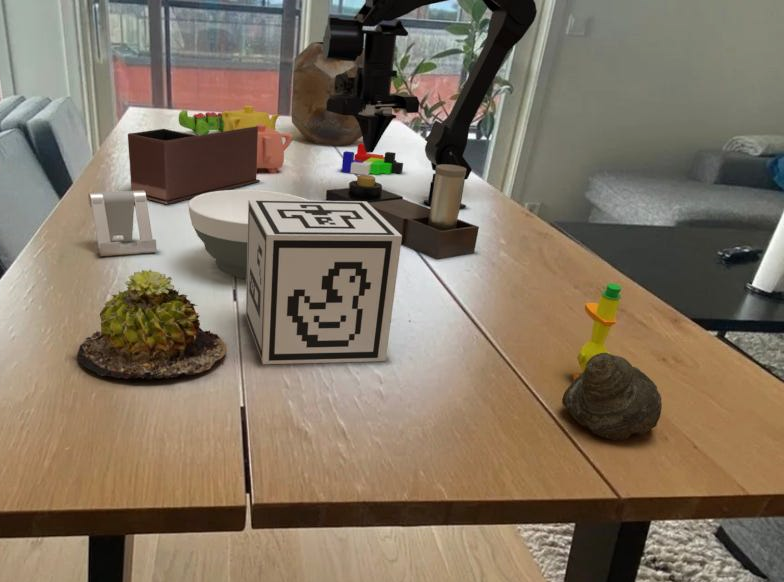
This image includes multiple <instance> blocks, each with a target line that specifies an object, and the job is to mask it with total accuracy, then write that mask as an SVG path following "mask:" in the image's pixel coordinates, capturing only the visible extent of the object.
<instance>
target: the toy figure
mask: <svg viewBox="0 0 784 582" xmlns="http://www.w3.org/2000/svg"><path fill="white" fill-rule="evenodd" d="M621 290H622V286H620V285H619V284H617V283H612V282H610V283H607V284H606V289H605V290H602V291H601V293H600V294H601V295H600V297H599V300H598V303H596V302H585V303H584V304H585V305H584V311H585V313H586V314H587V316H589V317H590V318H591V320H593V325H592V331H591V338H590V340H589V341H587V342H586V343H585V344H583V345H582V346H581V348H580V352H579V353H578V354H577V356H576V358H577V361H578V364H579V367H580V370H581V374H582V373H583V372H584V370H585V366H586V363H587V362H588V360H589V359H590V358H591V357H593V356H594V355H596V354H599V353H609V354H611V353H610V351H608V350H607V347H606V344H605V341H606V340H607V337H608V335H609V332H610V330H611V328H612V326H614V325H616V322H617V311H618V308H619V304H620V302H621V300H620V299H621V298H622V295H621V294H620V292H621ZM581 374H579V373H576V374H573V381H574V380H575V379H576V378H577V377H578V376H579V375H581Z"/></svg>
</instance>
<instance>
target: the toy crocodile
mask: <svg viewBox="0 0 784 582" xmlns="http://www.w3.org/2000/svg"><path fill="white" fill-rule="evenodd" d="M178 124H179V125H180V126H181V127H183V128H186V129H188V130H191V131H193V132H194V133H196V134H198V135H204V134H210V131H217V132H223V131H224V126H225V124H224V122H223V119H222V112H218V113H216V112H214V111H211V112H209V111H208V112H205V114H204V113H202V112H198V113H195V114H193V116H188V110H187V109H182V110H181V111H180V112H179V114H178Z"/></svg>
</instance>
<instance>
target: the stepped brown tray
mask: <svg viewBox="0 0 784 582" xmlns="http://www.w3.org/2000/svg"><path fill="white" fill-rule="evenodd" d="M369 204H370V205H371V206H372V207H373V208H374V209H375V210H376V211H377V212H378V213H379V214H380V215H381V216H382V217H383V218H384V219H385V220H386V221H387V222H388V223H389V224H390V225H391V226H392V227H393V228H394V229H395V230H396V231H398V232H399V233H400V234H401V235H402V240H401V246H405V247H408V248H410V249H413V250H414V251H417V252H419V253H421V254H424V255H427V256H428V257H431V258H433V259H436V260H440V259H447V258H451V257H452V258H453V257H458V256H464V255H470V254H475V250H476V245H477V241H478V233H479V231H480V230H479V229H480V226H478V225H476V224H473V223H470V222H467V221H464V220H462V219H459V218H458V219H457V225H456V229H452V230H445V231H440V230H438V229H435V228H432V227H430V226H428V221H429V215H430V208H429V207H426V206H423V205H421V204H418V203H416V202H413V201H410V200H407V199H404V198H403V199H399V200H390V201H381V202H371V203H369Z"/></svg>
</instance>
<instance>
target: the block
mask: <svg viewBox="0 0 784 582" xmlns="http://www.w3.org/2000/svg"><path fill="white" fill-rule="evenodd" d="M401 240H402V235H401V234H400V233H399V232H398V231H396V230H395V229H394V228H393V227H392V226H391V225H390V224H389V223H388V222H387V221H386V220H385V219H384V218H383V217H382V216H381V215H380V214H379V213H378V212H377V211H376V210H375V209H374V208H373V207H372V206H371V205H370V204H369V203H368V202H365V201H326V200H310V201H304V200H248V244H247V279H246V288H245V289H246V292H245V293H246V294H245V295H246V296H245V297H246V298H245V299H246V300H245V318H246V320H247V324H248V326H249V329H250V332H251V334H252V338H253V340H254V343H255V346H256V349H257V351H258V355H259V357H260V360H261V363H262V365H287V364H288V365H289V364H290V365H291V364H323V363H324V364H328V363H331V364H332V363H363V362H386V360H387V355H388V347H389V339H390V331H391V323H392V316H393V308H394V301H395V293H396V285H397V278H398V272H399V271H398V270H399V262H400V254H401V247H402V245H401Z"/></svg>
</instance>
